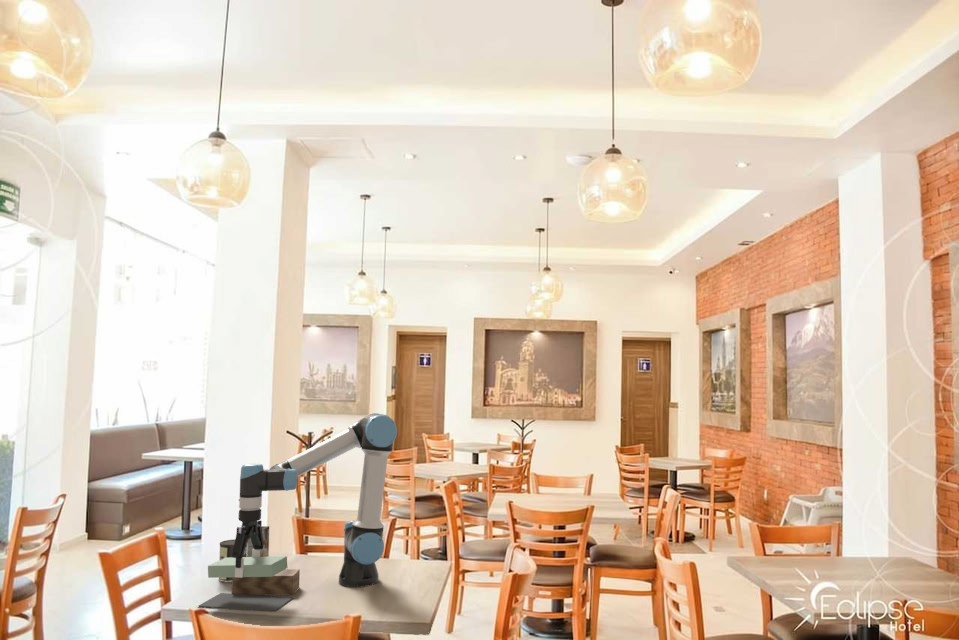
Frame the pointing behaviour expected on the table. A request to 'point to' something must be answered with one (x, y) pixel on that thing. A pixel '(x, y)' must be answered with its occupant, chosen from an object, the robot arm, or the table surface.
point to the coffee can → (228, 554)
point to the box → (268, 584)
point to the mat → (247, 602)
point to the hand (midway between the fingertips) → (247, 572)
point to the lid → (248, 567)
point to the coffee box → (265, 550)
